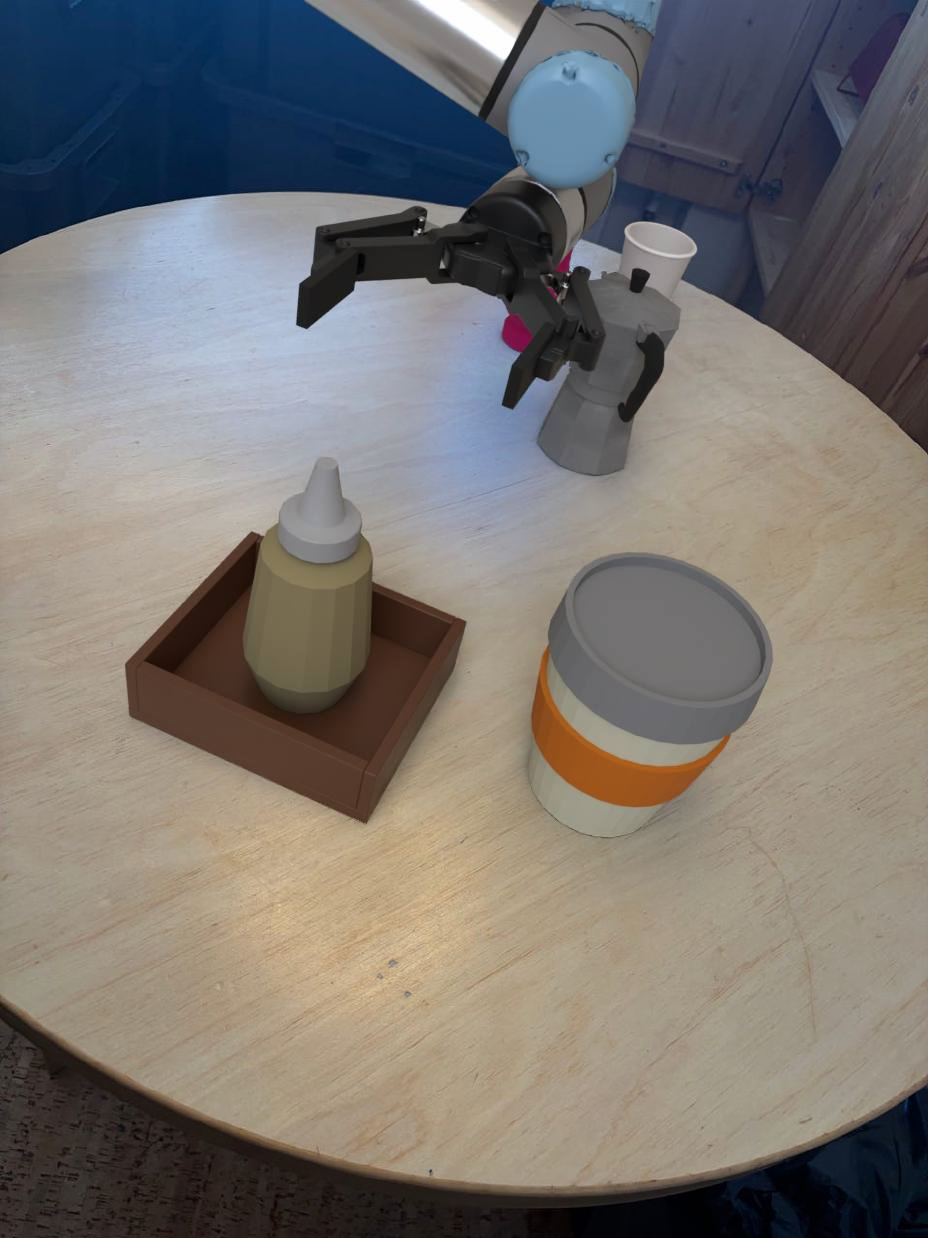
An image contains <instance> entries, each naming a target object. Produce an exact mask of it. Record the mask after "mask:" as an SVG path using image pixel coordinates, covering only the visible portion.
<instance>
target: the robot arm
mask: <svg viewBox="0 0 928 1238" xmlns="http://www.w3.org/2000/svg"><path fill="white" fill-rule="evenodd" d="M302 1H303V2H305V3H306V4H308V5H310V6H311V8H314V9H315V10H317V11H319V12H320V13H321V14H323V15H325V16H326V17H327V18H329V19H330V20H332V21H334V22H335V23H336V24H338V25H339V26H341V27H342V28H344V29H345V30H347V31H349V32H350V33H351V34H353V35H354V36H356V37H357V38H359V39H360V40H362V41H364V42H365V43H367V44H368V45H369V46H371V47H373V48H374V49H375V50H377V51H379V52H380V53H381V54H383V55H385V56H386V57H387V58H388V59H390V60H392V61H394V62H395V63H397V64H398V65H399V66H401V67H402V68H404V69H405V70H407V71H408V72H409V73H411V74H413V75H415V76H416V77H417V78H418V79H420V80H422V81H423V82H425V83H427V85H429V86H431V87H432V88H434V89H435V90H437V91H438V92H440V93H442V94H443V95H444V96H446V97H447V98H449V99H450V100H452V101H453V102H455V103H456V104H457V105H459V106H461V107H462V108H464V109H465V110H467V111H468V112H469V113H471V114H473V115H474V116H476V117H478V118H479V119H480V120H482V121H483V122H485V123H486V124H488V125H489V126H490V127H492V128H493V129H495V130H496V131H498V132H499V133H500V134H502V135H503V136H505V137H506V138H508V140H509V145H510V148H511V150H512V153H513V155H514V157H515V159H516V161H517V165H516V166H514V167H513V168H512V169H511V170H509V172H508V173H506V174H504V175H503V177H501V178H500V179H499V180H497V181H496V182H494V183H493V184H492V185H491V186H490V187H489V189H487V190H486V191H485V192H484V193H482V194H481V195H480V196H479V197H478V198H476V199H475V200H474V201H473V202H472V203H471V204H470V205H469V206H468V207H467V208H466V209H465V211H464V212H463V214H462V215H461V217H460V218H459V220H458V221H457V222H453V223H452V222H451V223H447V224H445V225H443V226H442V227H441V226H440V225H437V224H435V223H432V222H430V221H427V219H428V218H427V217H428V212H429V211H428V209H427V208H425V207H424V206H420V205H413V206H410V207H408V208H407V209H405V210H403V211H401V212H397V213H392V214H386V215H378V216H372V217H367V218H360V219H354V220H347V221H342V222H335V223H330V224H323V225H318V226H316V227H315V230H314V231H315V232H314V243H313V254H312V264H311V265H310V274H309V276H307V277H306V278H304V279H303V280H302V281H301V282H299V283H298V295H297V305H296V306H297V307H296V319H295V326H297V327H299V328H302V329H305V330H308V329H310V328H311V327H312V326H313V325H314V324H315V323H317V322H318V321H319V320H320V319H322V318H323V317H324V316H325V315H326V314H328V313H329V312H331V310H332V309H334V308H335V307H336V306H338V304H340V303H341V302H343V301H344V300H345V299H346V298H347V297H348V296H349V295H351V294H352V293H353V292H355V286H356V283H359V282H372V281H373V282H375V281H379V282H380V281H396V280H412V279H413V280H414V279H425V280H426V281H427V282H428V283H429V284H431V285H439V284H440V285H443V284H459V285H461V286H464V287H469V288H473V289H476V290H478V291H480V292H482V293H484V294H485V295H489V296H491V297H494V298H495V297H496V298H497V299H498V300H501V301H502V303H503V304H504V307H505V308H506V307H507V309H508V310H509V312H510V313H511V314H516V315H518V316H519V317H520V318H521V320H522V321H523V323H524V324H525V326H526V327H527V329H528V330H529V332H530V333H531V335H532V336H533V338H532V340H531V341H530V342H529V344H528V345H527V346H526V347H525V349H524V350H523V351H522V352H520V353H519V355H518V356H517V358H516V359H515V360H514V362H513V363H512V364H511V367H510V371H509V374H508V377H507V382H506V386H505V389H504V394H503V397H502V401H501V407H504V408H507V409H509V410H511V411H514V409H515V408H516V407H517V405H518V404H519V402H520V401H521V400H522V398H523V396H524V395H525V394H526V393H527V391H528V390H529V388H530V387H531V385H532V384H533V383H534V381H535V380H536V379H539V380H541V381H545V382H551V381H553V380H554V379H555V378H556V376H557V375H558V373H559V372H560V370H561V369H562V367H563V366H565V365H567V363H569V361H574V362H577V365H578V367H579V368H580V369H582V370H584V371H589V372H590V371H594V370H595V368H596V365H597V362H598V359H599V356H600V353H601V350H602V347H603V344H604V341H605V338H606V332H605V329H604V326H603V324H602V321H601V318H600V316H599V313H598V310H597V308H596V305H595V302H594V300H593V297H592V294H591V291H590V289H589V286H588V281H589V280H590V277H591V275H592V271H591V270H590V268H588V267H585V266H583V265H576V266H575V267H574V268H573V269H572V271H571V270H569V271H565V273H563V272H560V271H557V270H555V269H556V268H557V267H558V265H559V264H560V263H561V262H562V260H563V259H564V258H565V257H566V256H567V254H568V253H569V252H570V251H571V249H572V248H573V247H574V248H575V246H576V245H577V244H578V243H579V242H580V241H579V239H580V238H581V237H582V238H583V236H584V235H585V234H586V233H587V232H588V231H589V230H590V229H592V228H593V227H594V226H595V225H596V224H597V223H599V219H600V218H601V217H602V216H604V215H605V213H606V211H607V209H608V207H609V204H610V202H611V200H612V198H613V196H614V192H615V191H616V185H617V167H616V163H617V162H618V161H619V159H620V156H621V154H622V153H623V150H624V149H625V147H626V146H627V143H628V142H629V140H630V138H631V137H630V136H631V132H632V130H633V127H634V126H635V123H636V114H637V107H636V101H637V99H638V95H639V89H640V87H641V86H640V85H641V81H642V76H643V71H644V68H645V65H646V61H647V58H648V55H649V51H650V48H651V45H652V42H653V41H654V38H655V36H656V25H657V22H658V19H659V14H660V10H661V6H662V3H663V0H554V1H552V4H551V7H550V6H548V5H547V4H545V3H544V2H543V1H541V0H302ZM582 238H581V239H582ZM574 248H573V249H574ZM441 263H442V265H443V266H444V267H442V268H441ZM547 287H549V288H551V289H552V290H553V291H554V294H555V295H556V296H557V300H556V299H555V297H554V296H553V295H552V293H551V292H550V291H549V289H548V288H547ZM507 309H506V310H507Z"/></svg>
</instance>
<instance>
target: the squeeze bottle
mask: <svg viewBox="0 0 928 1238" xmlns="http://www.w3.org/2000/svg"><path fill="white" fill-rule="evenodd" d="M340 477H341V476H340V470H339V463H338V461H337V460H336V459H335V458H333V457H331V456H319V457H318V458H317V459H316V460H315V463H314V466H313V468H312V471H311V474H310V476H309V479H308V482H307V484H306V486H305V489H304V491H303V492H300V493H299V492H298V493H296V494H293V495H292V496H290V497H289V498H288V499H286V500H285V501H283V502H282V505H281V507H280V509H279V511H278V521H277V523H276V524H274V525H273V526H271V527H269V529H268V530H266V532H265V534H264V535H263V536H264V538H263V540H262V542H261V544H260V549H259V555H258V560H257V565H256V570H255V576H254V581H253V586H252V591H251V596H250V602H249V607H248V612H247V617H246V623H245V628H244V633H243V647H244V656H245V659H246V661H247V663H248V665H249V667H250V669H251V671H252V673H253V675H254V678H255V680H256V682H257V684H258V686H259V688H260V690H261V691H262V692H263V694H264V695H265V697H266V698H267V700H268V701H269V702H271V703H273V704H274V705H276V706H277V707H279V708H280V709H282V710H286V711H290V712H294V713H298V714H306V713H318V712H320V711H323V710H325V709H328V708H330V707H333V706H334V705H335V704H336V703H337V702H338V701H339V700H340V699H341V698H342V697H343V696H344V695H345V693H346V692H347V691H348V689H349V688H350V687H351V685H352V684H353V683H354V681H355V680H356V679H357V677H358V676H359V675H360V673H361V672H362V671H363V670H364V668H365V665H366V662H367V659H368V656H369V653H370V637H371V606H372V582H373V572H374V571H373V569H374V555H373V552H372V547H371V543H370V541H369V540H368V539H367V538H366V537H365V536H364V535H363V533H362V527H363V519H362V515H361V511H360V510H359V509H358V508H357V506H356V505H355V504H354V503H353V502H352V501H351V500H349V499H347V498H345V497H343V492H342V484H341V478H340Z"/></svg>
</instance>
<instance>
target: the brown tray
mask: <svg viewBox="0 0 928 1238" xmlns="http://www.w3.org/2000/svg"><path fill="white" fill-rule="evenodd" d="M264 536H265V535H261V534H260V533H258V532H255V531H253V530H251V531H250V532H249V533H248V534H247V535H246V536H245V537H244V538H243V539H242V540H241V541H240V543H238V545H236V546H235V548H233V550H232V551H231V552H230V553H229V554H228V555H226V557H225V558H224V559H223V560H222V561H221V562H220V563H219V565H218V566H216V567H215V569H214V570H213V571H212V572H211V573H210V574H208V576H207V577H206V578H205V579H204V580H203V581H202V582H201V583H200V584H199V585H198V586H197V587H196V588H195V590H194V591H193V592H192V593H191V594H190V595H189V596H188V597H187V598H186V599H185V600H184V601H183V602H182V603H181V604H180V606H178V607H177V608H176V609H175V610H174V612H172V614H171V615H170V616H169V617H168V618H167V619H166V620H165V621H164V622H163V623H162V624H161V625H160V626H159V627H158V628H157V629H156V631H155V632H154V633H153V634H152V635H150V637H149V638H148V639H146V640H145V642H144V643H143V644H142V645H141V646H140V647H139V648H138V649H137V650H136V651H135V653H133V655H132V656H130V658H129V659H128V660H127V661H126V662H125V663H124V671H125V682H126V693H127V705H128V715H129V717H131V718H133V719H134V720H137V721H139V722H141V723H143V724H146V725H148V726H150V727H153V728H155V729H157V730H159V731H162V732H164V733H165V734H168V735H170V736H172V737H174V738H177V739H179V740H181V741H183V742H185V743H187V744H189V745H191V746H194V747H196V748H198V749H200V750H203V751H204V752H207V753H209V754H211V755H214V756H216V757H218V758H220V759H222V760H225V761H226V762H229V763H231V764H234V765H235V766H237V767H240V768H242V769H244V770H246V771H249V772H251V773H252V774H255V775H257V776H259V777H262V778H264V779H266V780H268V781H270V782H273V783H274V784H277V785H279V786H281V787H284V788H286V789H288V790H290V791H292V792H294V793H297V794H299V795H301V796H303V797H305V798H307V797H308V798H307V799H310V800H312V801H314V802H316V803H318V804H320V803H321V805H323V806H324V807H327V808H329V809H331V810H334V811H336V812H338V813H340V814H343V815H344V814H345V816H347V817H349V818H351V819H353V818H354V819H353V820H355V819H356V821H357V820H359V821H358V822H360V821H361V822H360V823H362V822H363V823H362V824H364V823H366V824H367V823H368V822H369V819H370V818H371V816H372V814H373V812H374V811H373V810H375V809H376V808H377V806H378V804H379V802H380V800H381V798H382V797H383V795H384V793H385V791H386V790H387V788H388V786H389V784H390V782H391V781H392V780H393V777H394V776H395V774H396V772H397V770H398V768H399V767H400V765H401V764H402V761H403V759H404V758H405V756H406V754H407V753H408V752H409V749H410V747H411V745H412V744H413V742H414V740H415V738H416V737H417V735H418V734H419V731H420V730H421V728H422V726H423V724H424V723H425V721H426V719H427V717H428V716H429V714H430V712H431V710H432V709H433V706H434V705H435V703H436V702H437V699H438V698H439V696H440V694H441V693H442V692H443V690H444V687H445V685H446V684H447V682H448V680H449V678H450V677H451V675H452V674H453V672H454V670H455V667H456V663H457V659H458V655H459V652H460V648H461V644H462V642H463V637H464V634H465V630H466V626H467V620H465V619H462V618H460V617H458V616H457V617H456V616H455V615H453V614H450V613H448V612H445V611H443V610H441V609H439V608H436V607H434V606H431V605H429V604H427V603H425V602H421V600H420V601H419V600H417V599H415V598H412V597H410V596H407V595H404V593H401V592H398V591H395V590H393V589H391V588H389V587H387V586H383V585H381V584H379V583H376V582H374V581H372V606H371V637H370V653H369V656H368V659H367V662H366V665H365V668H364V670H363V671H362V672H361V673H360V675H359V676H358V677H357V679H356V680H355V681H354V683H353V684H352V685H351V687H350V688H349V689H348V691H347V692H346V693H345V695H344V696H343V697H342V698H341V699H340V700H339V701H338V702H337V703H336V704H335V705H334V706H333V707H330V708H328V709H325V710H323V711H320V712H318V713H306V714H298V713H294V712H290V711H286V710H282V709H280V708H279V707H277V706H276V705H274V704H273V703H271V702H269V701H268V700H267V698H266V697H265V695H264V694H263V692H262V691H261V690H260V688H259V686H258V684H257V682H256V680H255V678H254V675H253V673H252V671H251V669H250V667H249V665H248V663H247V661H246V659H245V656H244V647H243V633H244V628H245V623H246V617H247V612H248V607H249V602H250V596H251V591H252V586H253V581H254V576H255V570H256V565H257V560H258V555H259V549H260V544H261V542H262V540H263V538H264ZM369 817H370V818H369Z"/></svg>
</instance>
